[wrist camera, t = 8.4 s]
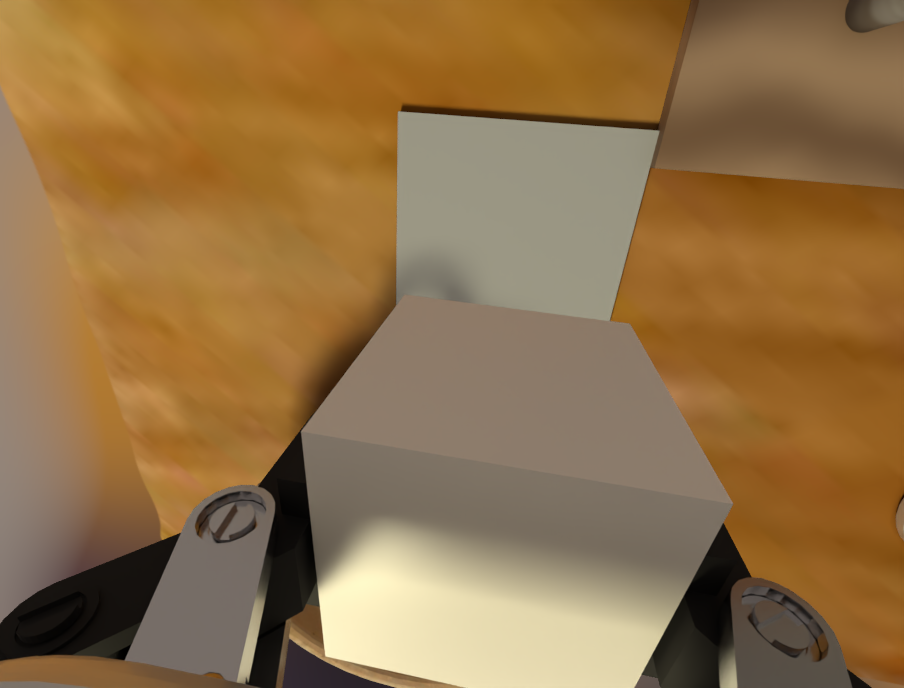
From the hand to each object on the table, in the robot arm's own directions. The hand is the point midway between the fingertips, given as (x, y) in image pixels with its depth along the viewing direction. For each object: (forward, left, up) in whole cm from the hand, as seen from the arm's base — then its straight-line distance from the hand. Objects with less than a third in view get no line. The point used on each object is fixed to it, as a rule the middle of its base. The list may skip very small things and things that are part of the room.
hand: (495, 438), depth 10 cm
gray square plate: (0, 0, -22) cm, 22 cm away
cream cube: (0, 0, -1) cm, 2 cm away
